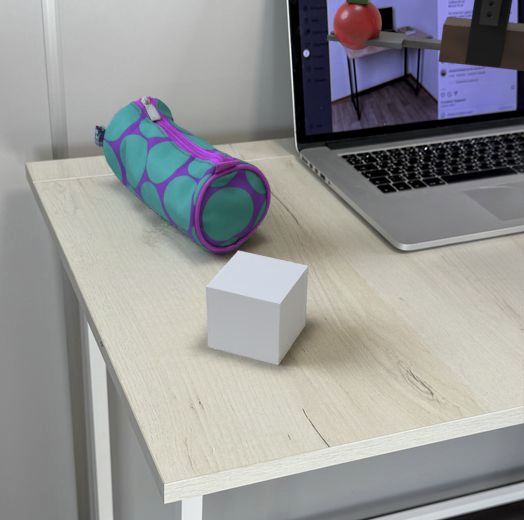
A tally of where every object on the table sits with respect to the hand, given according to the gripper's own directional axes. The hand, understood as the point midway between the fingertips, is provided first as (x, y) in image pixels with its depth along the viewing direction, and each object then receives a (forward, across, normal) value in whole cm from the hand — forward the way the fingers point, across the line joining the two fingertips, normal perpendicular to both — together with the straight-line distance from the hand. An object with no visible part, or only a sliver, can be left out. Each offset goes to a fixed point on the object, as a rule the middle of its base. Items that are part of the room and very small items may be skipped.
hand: (484, 57), depth 71 cm
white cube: (+19, +18, -13) cm, 29 cm away
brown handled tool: (0, 0, -3) cm, 3 cm away
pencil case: (+19, 0, -27) cm, 33 cm away
